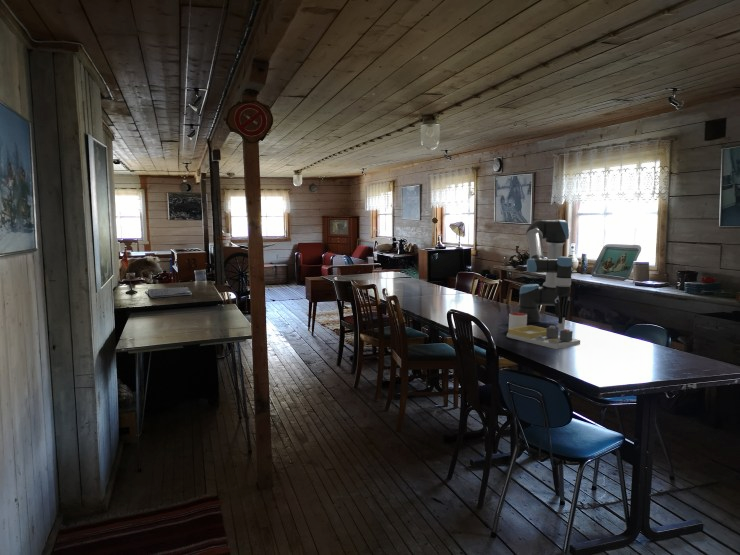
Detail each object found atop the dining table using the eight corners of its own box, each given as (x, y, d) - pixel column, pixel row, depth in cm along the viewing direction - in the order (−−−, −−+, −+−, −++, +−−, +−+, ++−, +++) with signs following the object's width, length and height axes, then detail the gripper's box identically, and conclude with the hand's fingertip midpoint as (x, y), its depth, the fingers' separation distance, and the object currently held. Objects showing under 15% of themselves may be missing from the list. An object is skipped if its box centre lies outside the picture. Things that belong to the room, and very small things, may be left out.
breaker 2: (564, 339, 276) (565, 328, 276) (572, 340, 272) (572, 330, 272) (559, 340, 274) (560, 329, 273) (567, 341, 270) (567, 331, 270)
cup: (524, 329, 310) (525, 312, 309) (527, 333, 300) (528, 316, 299) (507, 329, 311) (507, 312, 310) (510, 332, 301) (510, 315, 300)
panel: (530, 332, 302) (530, 324, 301) (580, 344, 275) (580, 335, 275) (506, 336, 291) (506, 328, 290) (555, 349, 264) (556, 340, 264)
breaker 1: (550, 335, 283) (551, 325, 282) (558, 337, 279) (558, 326, 279) (546, 336, 281) (546, 325, 280) (553, 338, 277) (553, 327, 277)
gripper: (564, 284, 288) (562, 326, 290) (549, 285, 281) (547, 329, 283) (577, 285, 282) (574, 329, 284) (561, 287, 275) (559, 331, 277)
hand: (561, 329), depth 284 cm, fingers closed
